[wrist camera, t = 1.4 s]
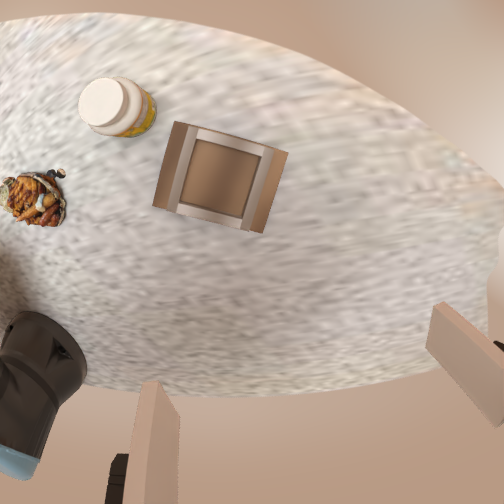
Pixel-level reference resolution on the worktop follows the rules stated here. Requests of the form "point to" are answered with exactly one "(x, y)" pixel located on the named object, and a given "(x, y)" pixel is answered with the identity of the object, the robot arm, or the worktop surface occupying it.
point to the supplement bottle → (116, 107)
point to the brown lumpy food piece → (34, 198)
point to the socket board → (218, 177)
